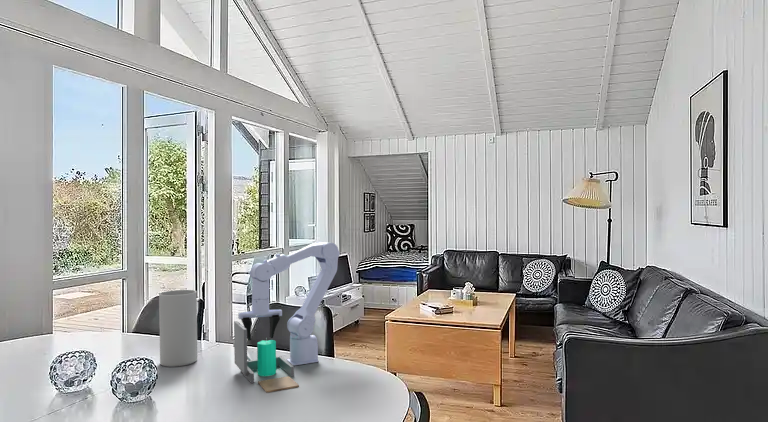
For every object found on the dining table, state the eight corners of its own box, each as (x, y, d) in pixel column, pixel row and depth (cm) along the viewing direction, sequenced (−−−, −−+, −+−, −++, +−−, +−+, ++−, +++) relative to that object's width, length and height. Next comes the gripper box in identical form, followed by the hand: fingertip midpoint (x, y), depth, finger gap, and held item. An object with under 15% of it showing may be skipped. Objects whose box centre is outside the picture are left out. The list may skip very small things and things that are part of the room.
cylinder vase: (167, 369, 177) (166, 296, 177) (155, 362, 186) (154, 292, 186) (203, 362, 185) (202, 292, 185) (189, 355, 195) (188, 288, 194)
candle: (279, 371, 173) (279, 335, 173) (269, 377, 168) (269, 340, 168) (264, 369, 175) (263, 334, 175) (254, 375, 170) (253, 338, 170)
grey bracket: (280, 363, 182) (279, 315, 182) (293, 375, 169) (293, 323, 168) (233, 370, 174) (232, 320, 174) (244, 384, 161) (243, 329, 161)
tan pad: (288, 377, 167) (288, 376, 167) (299, 386, 158) (299, 385, 158) (258, 382, 162) (258, 381, 162) (266, 392, 153) (266, 391, 153)
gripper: (278, 295, 183) (277, 334, 183) (236, 298, 176) (236, 338, 176) (284, 298, 177) (283, 338, 177) (241, 301, 170) (240, 342, 170)
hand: (260, 338), depth 176 cm, fingers open, 7 cm apart
